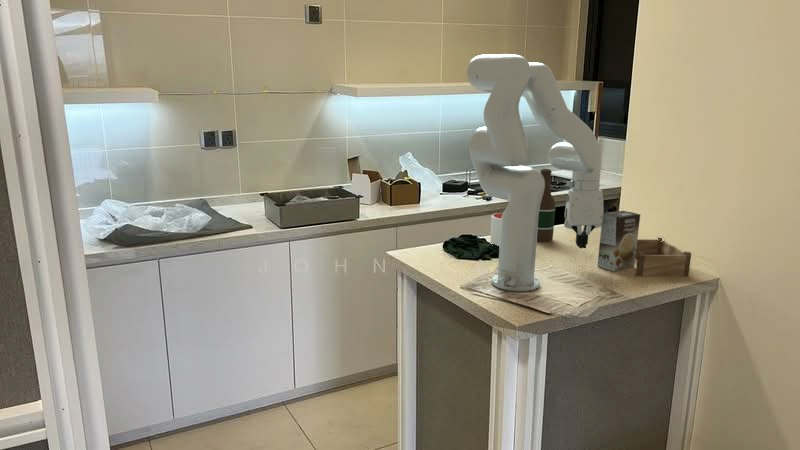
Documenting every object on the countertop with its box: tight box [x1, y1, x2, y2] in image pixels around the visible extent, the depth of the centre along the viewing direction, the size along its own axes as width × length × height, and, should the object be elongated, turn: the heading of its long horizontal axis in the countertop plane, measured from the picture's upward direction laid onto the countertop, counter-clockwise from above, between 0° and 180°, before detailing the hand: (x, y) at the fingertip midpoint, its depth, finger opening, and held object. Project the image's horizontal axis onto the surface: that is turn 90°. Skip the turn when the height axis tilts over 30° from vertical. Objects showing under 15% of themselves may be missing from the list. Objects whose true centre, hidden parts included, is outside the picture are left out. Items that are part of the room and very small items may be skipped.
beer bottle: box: [537, 168, 556, 243], centre depth 211 cm, size 8×8×24 cm
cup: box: [490, 212, 503, 246], centre depth 204 cm, size 10×10×10 cm
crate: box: [635, 236, 692, 277], centre depth 185 cm, size 18×15×7 cm
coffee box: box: [597, 210, 641, 272], centre depth 183 cm, size 9×6×16 cm
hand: (581, 246), depth 183 cm, fingers closed
